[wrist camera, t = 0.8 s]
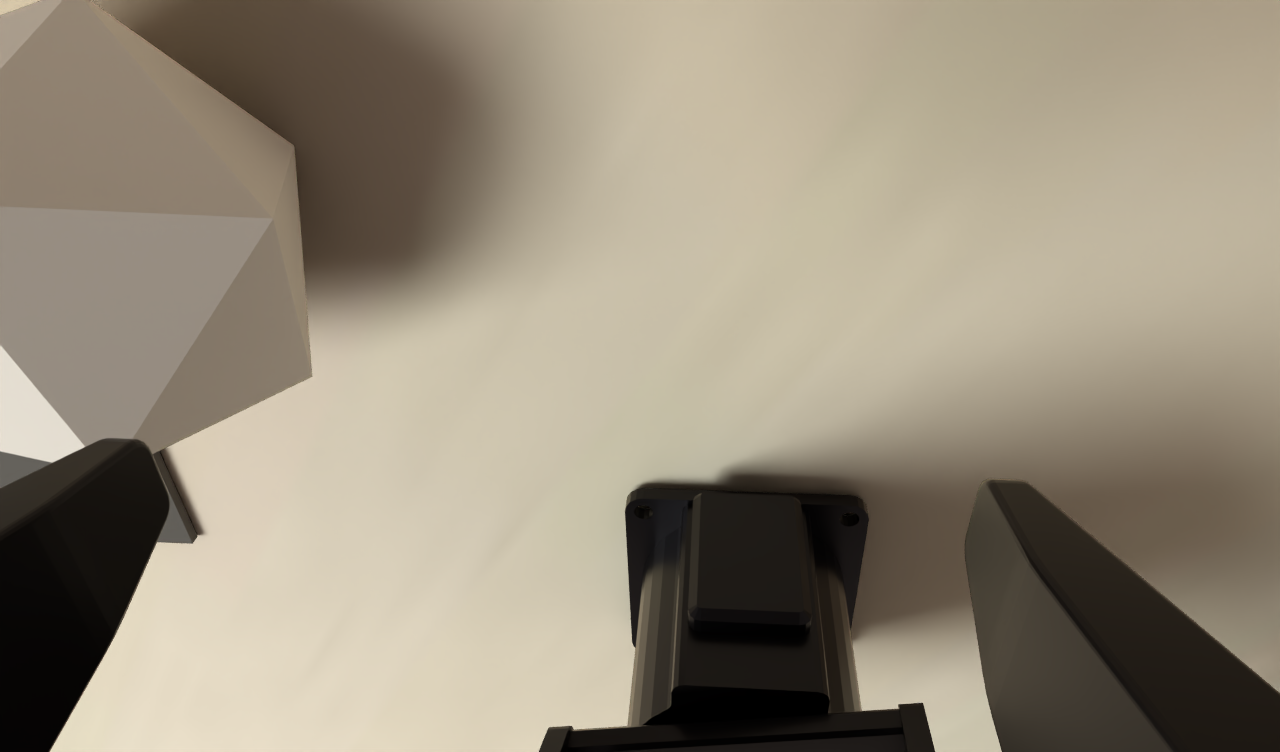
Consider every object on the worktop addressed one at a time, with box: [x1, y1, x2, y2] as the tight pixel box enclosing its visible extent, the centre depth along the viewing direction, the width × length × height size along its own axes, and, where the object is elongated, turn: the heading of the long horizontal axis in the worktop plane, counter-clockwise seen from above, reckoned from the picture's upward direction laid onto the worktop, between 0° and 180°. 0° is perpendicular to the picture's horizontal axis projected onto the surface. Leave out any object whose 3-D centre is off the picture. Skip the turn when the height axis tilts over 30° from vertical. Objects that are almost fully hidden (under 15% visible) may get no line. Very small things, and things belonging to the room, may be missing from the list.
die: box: [0, 0, 312, 463], centre depth 17 cm, size 8×9×10 cm
